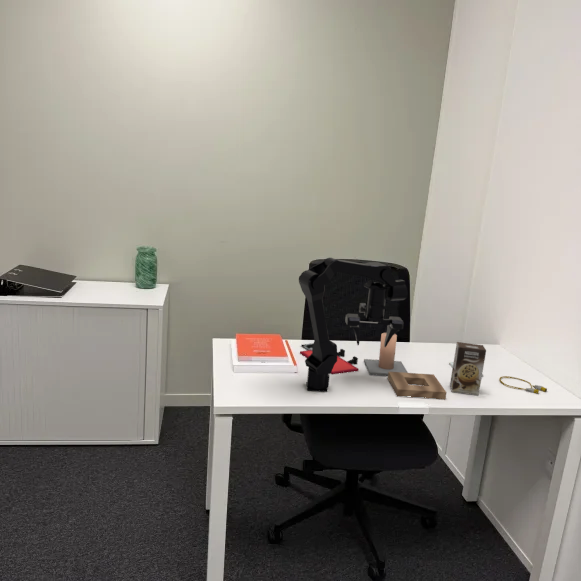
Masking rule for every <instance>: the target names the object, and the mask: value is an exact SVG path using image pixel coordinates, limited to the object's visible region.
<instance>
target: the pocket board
mask: <svg viewBox="0 0 581 581" xmlns="http://www.w3.org/2000/svg"><path fill="white" fill-rule="evenodd" d="M387 380H388V381H389V384H390V387H393V388H392V390H393V389H394V390H393V392H394V391H395V392H394V393H396V394H395V396H396V395H397V396H396V397H398V396H411V397H410V398H413V397H424V398H423V399H429V398H436V399H435V400H445V399H446V400H447V391H446V389H445V388H444V386H443V384H441V383H440V381H439V380H438V378H437V376H436V375H435V374H433V373H432V374H431V373H430V374H429V373H416V372H408V373H403V372H388V376H387ZM412 384H417V385H412ZM423 385H424V386H423ZM425 397H426V398H425Z"/></svg>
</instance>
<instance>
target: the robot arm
mask: <svg viewBox="0 0 581 581" xmlns="http://www.w3.org/2000/svg"><path fill="white" fill-rule="evenodd" d="M337 273H341V274H349V275H355V276H360V277H361V276H362V277H367V278H369V280H368V281H366V282H365V283H364V284H363V287H364V288H366V289H368V295H367V296H368V297H367V304H366V303H365V302H360V303H359V307H358V308H359V309H358V312H359V313H360V314H361V313H363V316H364V317H360V316H359V314H358V313H347V314H345V320H344V321H345V323H346V326H349V327H350V329H353V332H354V336H355V341H356V345H357V346H359V345H360V339H361V338H360V337H361V336H360V332H361V331H360V330H361V328H360V324H367V325H368V324H370V325H381V326H382V325H384V326H386V332H385V333H386V338H385V343H384V347H386V346H387V344H388V343H389V341H390V339H391V338H392V336H393V335H394V334H396V333H398V332H400V330H404V326H405V325H404V324H405V323H404V320H402V318H401V317H400V316H392V315H391V316H389V318H385V317H384V316H385V310H386V301H389V302H390V301H392V302H393V301H404V300H406V299H407V298H408V295H409V291H408V287H407V285H406V280H403V279H395V278H394V276H393V271H392V268H391V266H389V265H386V264H383V263H381V262H378V261H369V262H362V263H361V262H356V261H355V262H354V261H349V260H344V259H338V258H337V259H336V258H333V257H327V258H325V259H324V260H323V261H322V262H319V263H317V264H315V265H312V266H311V267H310V268H308V269H307V270H303V271H302V272H301V274H300V275H299V277H298V284H299V286H300V289H301V292H302V293H303V295H304V297H305V298H306V300H307V304H308V305H307V306H308V311H309V317H310V321H311V322H310V323H311V328H312V333H313V339H314V340H313V346H312V354H311V355H310V356H309V357H308V358H306V359H305V360H304V363H305V366H306V367H308V368H307V369H308V370H307V377H306V382H305V384H306V386H305V387H306V390H307V391H309V392H310V391H311V392H322V393H323V392H326V393H327V392H328V388H329V387H330V386H329V385H330V384H329V383H330V375H332V374H331V372H332V369H333V367H334V365H335V363H336V362H337V356H339V357H340V355H339V354H338V352H339V351H338V346H337V343H336V342H334V341H332V340H330V337H329V330H328V326H327V325H328V324H327V319H326V312H325V306H324V302H323V301H324V300H323V297H324V294H325V289H326V288H325V287H326V285H327V284H328V283H329V282H331V280H332V278H333V277H334V275H335V274H337ZM370 279H371V280H370ZM373 280H375V281H376V282H374V281H373Z"/></svg>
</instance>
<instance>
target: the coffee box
mask: <svg viewBox="0 0 581 581" xmlns="http://www.w3.org/2000/svg"><path fill="white" fill-rule="evenodd" d="M454 352H455V353H454V358H453V362H454V363H453V368H452V370H451V374H450V375H451V377H450V382H449V387H450V390H451V392H452V393H458V394H466V395H471V394H472V395H473V396H479V395H480V389H481V383H482V378H483V377H482V374H483V373H484V372H483V371H484V366H485V360H486V353H487V349H486V348H485V345H483V344H476V343H470V342H469V343H468V342H459V341H457V342H456V346H455V351H454Z"/></svg>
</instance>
